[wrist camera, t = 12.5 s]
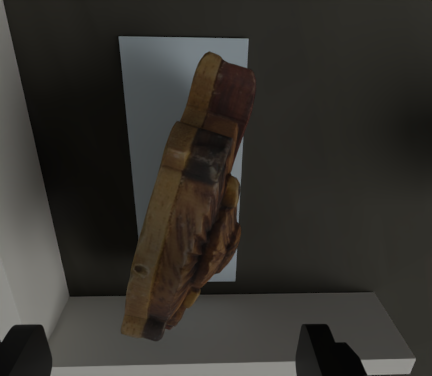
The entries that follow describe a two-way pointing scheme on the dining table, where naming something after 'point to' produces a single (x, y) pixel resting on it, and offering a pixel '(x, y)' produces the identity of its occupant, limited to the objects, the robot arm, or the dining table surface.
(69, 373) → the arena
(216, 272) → the wooden carving
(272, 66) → the dining table surface
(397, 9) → the dining table surface
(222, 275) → the pad
